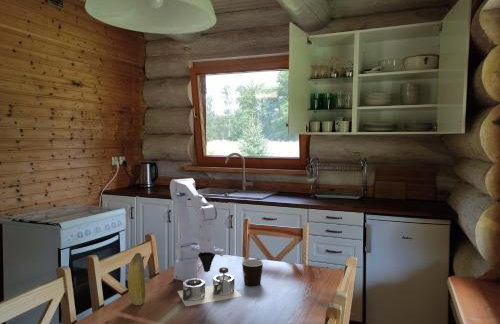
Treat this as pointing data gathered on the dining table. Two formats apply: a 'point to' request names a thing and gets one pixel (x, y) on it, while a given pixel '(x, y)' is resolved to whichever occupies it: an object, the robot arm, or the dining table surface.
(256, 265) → the coffee mug
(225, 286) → the far pot
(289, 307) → the dining table surface
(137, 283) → the vegetable
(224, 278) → the cylinder
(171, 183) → the robot arm
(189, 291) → the near pot
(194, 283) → the near plunger
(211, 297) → the serving board
